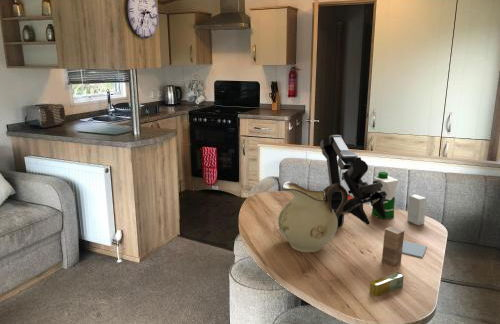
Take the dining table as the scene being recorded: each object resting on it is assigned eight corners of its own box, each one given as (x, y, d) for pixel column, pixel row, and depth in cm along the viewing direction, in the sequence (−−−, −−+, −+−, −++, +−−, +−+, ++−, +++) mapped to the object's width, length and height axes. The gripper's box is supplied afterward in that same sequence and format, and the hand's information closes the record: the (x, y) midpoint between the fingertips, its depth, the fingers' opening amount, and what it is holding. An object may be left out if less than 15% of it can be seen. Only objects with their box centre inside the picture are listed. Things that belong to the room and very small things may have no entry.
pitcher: (266, 247, 150) (267, 185, 144) (297, 227, 169) (300, 171, 162) (318, 266, 137) (322, 199, 131) (346, 242, 156) (351, 182, 149)
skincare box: (424, 223, 172) (427, 197, 169) (417, 225, 170) (420, 199, 167) (413, 218, 177) (416, 193, 174) (406, 220, 176) (408, 195, 172)
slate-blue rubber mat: (393, 251, 148) (394, 250, 148) (399, 241, 156) (399, 239, 156) (422, 258, 143) (422, 256, 142) (426, 247, 151) (426, 246, 151)
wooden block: (393, 266, 137) (397, 233, 133) (381, 260, 141) (384, 228, 137) (400, 263, 139) (404, 231, 136) (388, 257, 143) (392, 226, 140)
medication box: (396, 282, 127) (397, 271, 126) (403, 286, 125) (404, 275, 124) (369, 293, 122) (369, 281, 121) (375, 297, 120) (376, 285, 119)
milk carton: (383, 210, 187) (386, 170, 182) (397, 217, 179) (401, 175, 174) (368, 213, 183) (372, 172, 178) (382, 221, 175) (386, 178, 170)
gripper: (351, 177, 137) (374, 217, 131) (385, 169, 147) (408, 205, 141) (333, 192, 146) (354, 230, 140) (366, 184, 156) (387, 219, 150)
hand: (377, 221), depth 142 cm, fingers open, 9 cm apart
